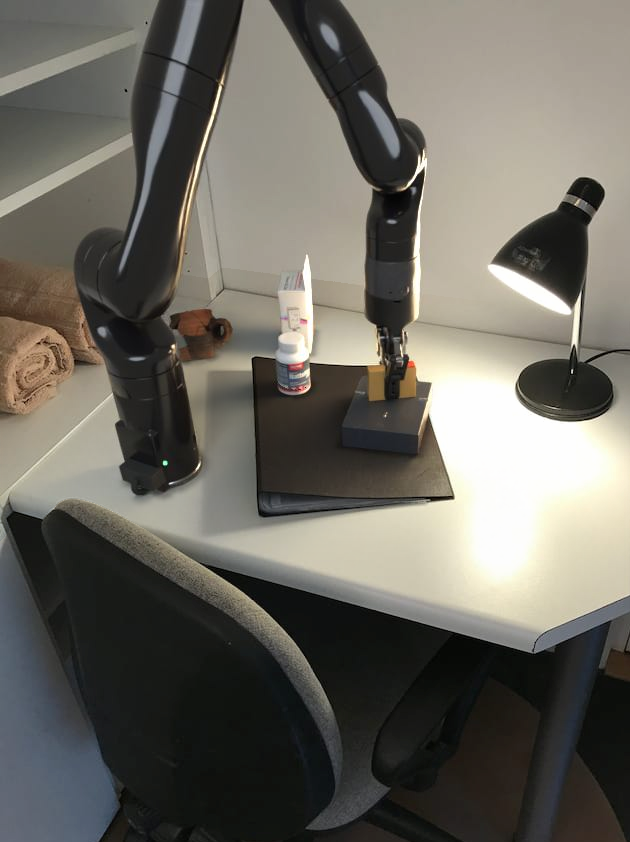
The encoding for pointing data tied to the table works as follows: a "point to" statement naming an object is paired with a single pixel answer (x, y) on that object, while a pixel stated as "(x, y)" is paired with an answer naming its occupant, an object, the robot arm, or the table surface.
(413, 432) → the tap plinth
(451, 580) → the table surface
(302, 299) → the ink cartridge box
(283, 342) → the pill bottle
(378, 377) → the tap lever
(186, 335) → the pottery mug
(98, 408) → the table surface
